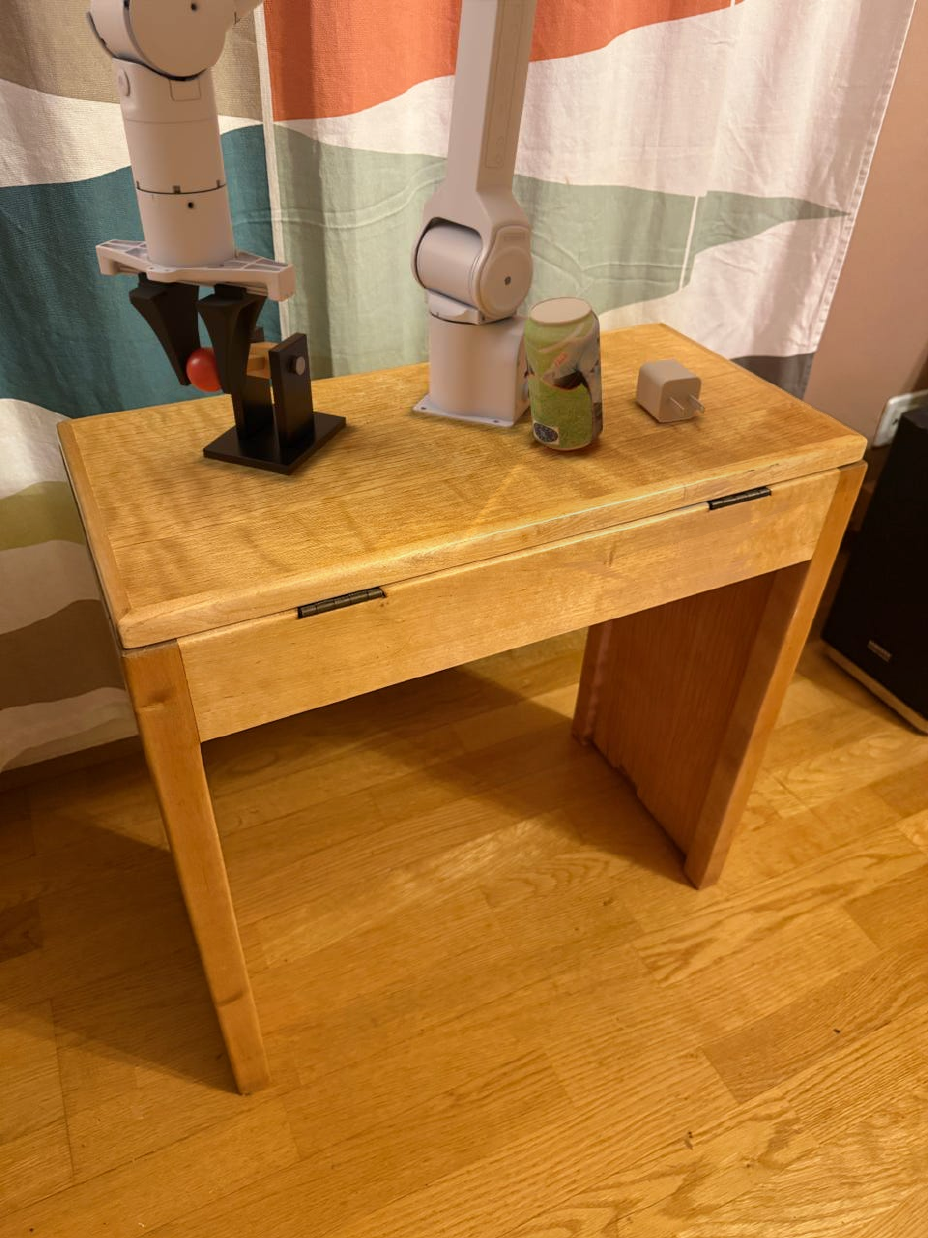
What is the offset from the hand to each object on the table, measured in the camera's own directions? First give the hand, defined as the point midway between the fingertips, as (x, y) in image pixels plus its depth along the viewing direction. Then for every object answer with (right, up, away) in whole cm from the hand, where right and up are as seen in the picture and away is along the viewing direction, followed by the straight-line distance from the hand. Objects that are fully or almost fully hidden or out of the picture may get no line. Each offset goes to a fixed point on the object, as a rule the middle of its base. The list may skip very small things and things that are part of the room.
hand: (212, 384), depth 67 cm
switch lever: (+1, +1, +3) cm, 3 cm away
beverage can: (+27, -2, +12) cm, 29 cm away
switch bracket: (+3, -2, +11) cm, 11 cm away
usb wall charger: (+38, +1, +17) cm, 41 cm away
